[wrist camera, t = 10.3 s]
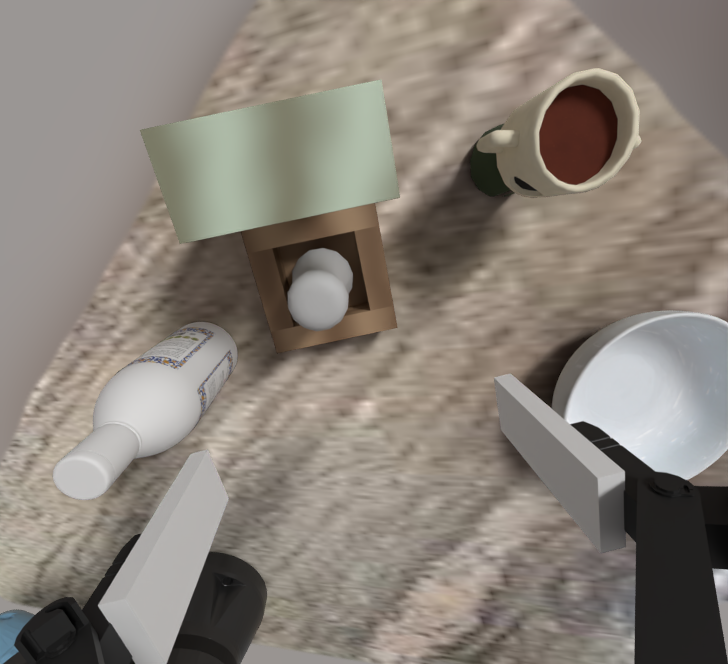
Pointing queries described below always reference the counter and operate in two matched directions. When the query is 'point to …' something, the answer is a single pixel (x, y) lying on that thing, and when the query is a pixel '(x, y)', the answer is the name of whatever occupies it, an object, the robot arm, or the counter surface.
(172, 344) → the bath foam
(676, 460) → the serving bowl
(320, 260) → the salt shaker
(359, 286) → the socket station
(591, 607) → the counter surface
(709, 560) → the robot arm
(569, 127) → the character mug
